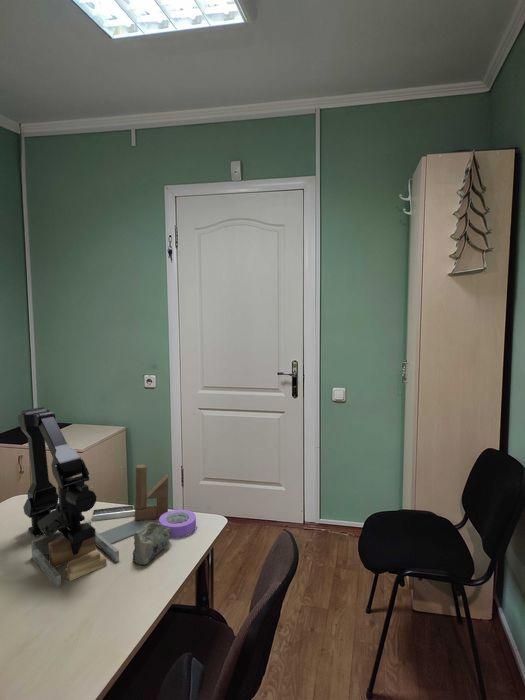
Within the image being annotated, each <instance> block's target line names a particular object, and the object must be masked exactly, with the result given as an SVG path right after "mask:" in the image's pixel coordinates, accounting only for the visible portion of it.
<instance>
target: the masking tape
mask: <svg viewBox="0 0 525 700" xmlns="http://www.w3.org/2000/svg"><path fill="white" fill-rule="evenodd" d="M158 523H160V524H163V525H164V526H165V527H166V528H171V533H170V537H169V539H170V538H172V539H175V538H176V539H178V538H177V537H179V538H184V537H186V535H187V536H189V535H190V533H191V532H192V533H194V532H195V531H196V529H195V528H197V515H196V513H194V512H193V511H191V510H188V509H173V510H168V512H166V513H164V514H162V515H161V516H160V518H159V519H158ZM193 531H194V532H193ZM192 533H191V534H192ZM188 534H189V535H188ZM183 536H184V537H183Z"/></svg>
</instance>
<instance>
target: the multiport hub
mask: <svg viewBox="0 0 525 700" xmlns="http://www.w3.org/2000/svg"><path fill="white" fill-rule="evenodd" d="M127 517H129V518H130V517H135V504H133V505H125V506H124V505H123V506H115V507H106V508H97V509H93V511H92V514H91V521H93V522H94V521H95V522H96V521H103V520H111V519H113V520H114V519H122V518H127Z"/></svg>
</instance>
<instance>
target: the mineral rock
mask: <svg viewBox="0 0 525 700" xmlns="http://www.w3.org/2000/svg"><path fill="white" fill-rule="evenodd" d="M170 533H171V528H166V527H165V526H164V525H163V524H160V523H159V522H155V521H154V522H153V521H148V523H147V524H146V526H144V527H143V528H141V529H140V530H139V531H137V532H135V534H134V535H133V539H134V542H133V545H134V549H133V551H132V561H133V562H136V564H137V565H148V564H149V563H150V561H151V560H152V559H154V557H155V555H157V554H158V553H159V552H160V551H162V550H163V549H165V548H166V547H167V545H168V543H169V540H170Z"/></svg>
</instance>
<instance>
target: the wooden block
mask: <svg viewBox="0 0 525 700" xmlns="http://www.w3.org/2000/svg"><path fill="white" fill-rule="evenodd" d="M147 470H148V467H147V465H146V464H137V465H135V486H134V487H135V491H134V493H135V498H134V499H135V504H134V505H135V516H134V520H135V521H136V520H140V521H145V520H156V519H157V520H159V518H160V516H161V515H162V514H164V513H166V512H168V511H169V475H168V473H166V474H165V475H164V476H163V477H162V478H161V479H160V481H158V482H157V484H155V485H154V486H153V487H152V488H151V489H150V490H149V491H148V492H147V486H148V484H147V483H148V482H147V480H148V479H147V478H148V477H147V473H148V471H147ZM151 499H152V500H153V499H156V505H152V504H147V501H148V500H151Z"/></svg>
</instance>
